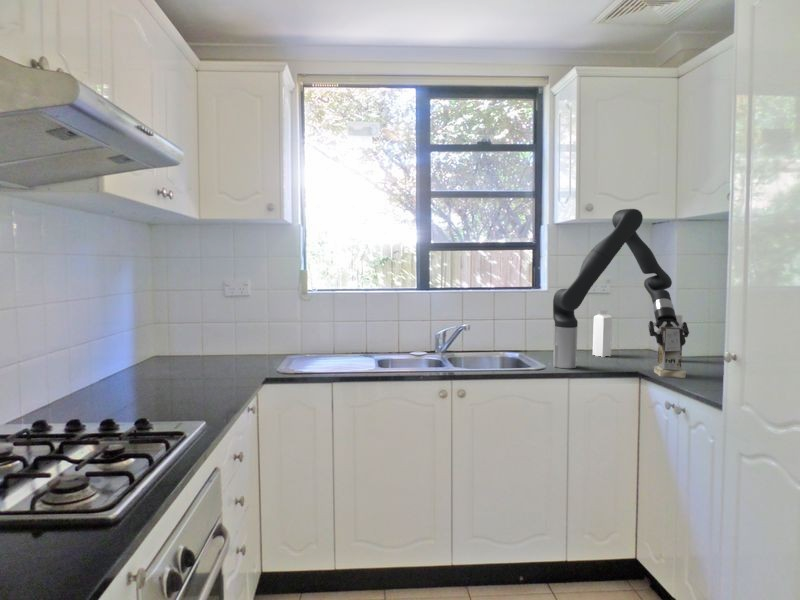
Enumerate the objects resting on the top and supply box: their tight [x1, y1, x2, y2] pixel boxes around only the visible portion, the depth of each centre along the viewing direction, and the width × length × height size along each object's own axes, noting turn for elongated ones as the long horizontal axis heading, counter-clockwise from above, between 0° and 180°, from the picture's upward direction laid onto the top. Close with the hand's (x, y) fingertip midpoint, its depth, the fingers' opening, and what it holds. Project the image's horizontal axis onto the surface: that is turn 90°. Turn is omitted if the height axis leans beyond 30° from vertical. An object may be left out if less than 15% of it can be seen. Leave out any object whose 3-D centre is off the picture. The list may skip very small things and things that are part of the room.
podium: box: [653, 365, 687, 379], centre depth 202 cm, size 9×9×3 cm
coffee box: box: [657, 326, 683, 370], centre depth 202 cm, size 9×6×16 cm
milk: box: [592, 309, 613, 358], centre depth 243 cm, size 6×6×22 cm
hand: (671, 344), depth 200 cm, fingers open, 7 cm apart
